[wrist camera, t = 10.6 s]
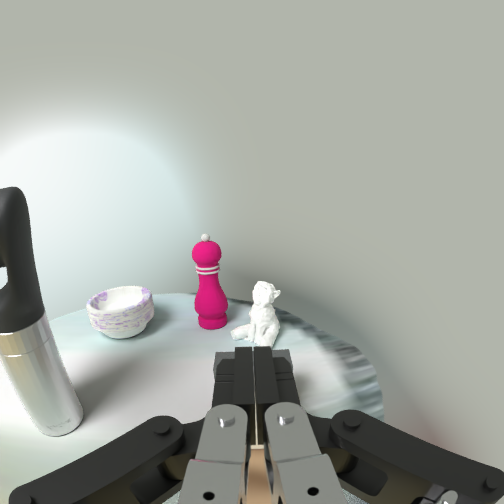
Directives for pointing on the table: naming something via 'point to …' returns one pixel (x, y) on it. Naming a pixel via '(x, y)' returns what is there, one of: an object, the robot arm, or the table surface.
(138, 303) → the paper bowls
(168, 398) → the table surface
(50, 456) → the table surface
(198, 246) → the pepper mill
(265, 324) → the white creature statuette
